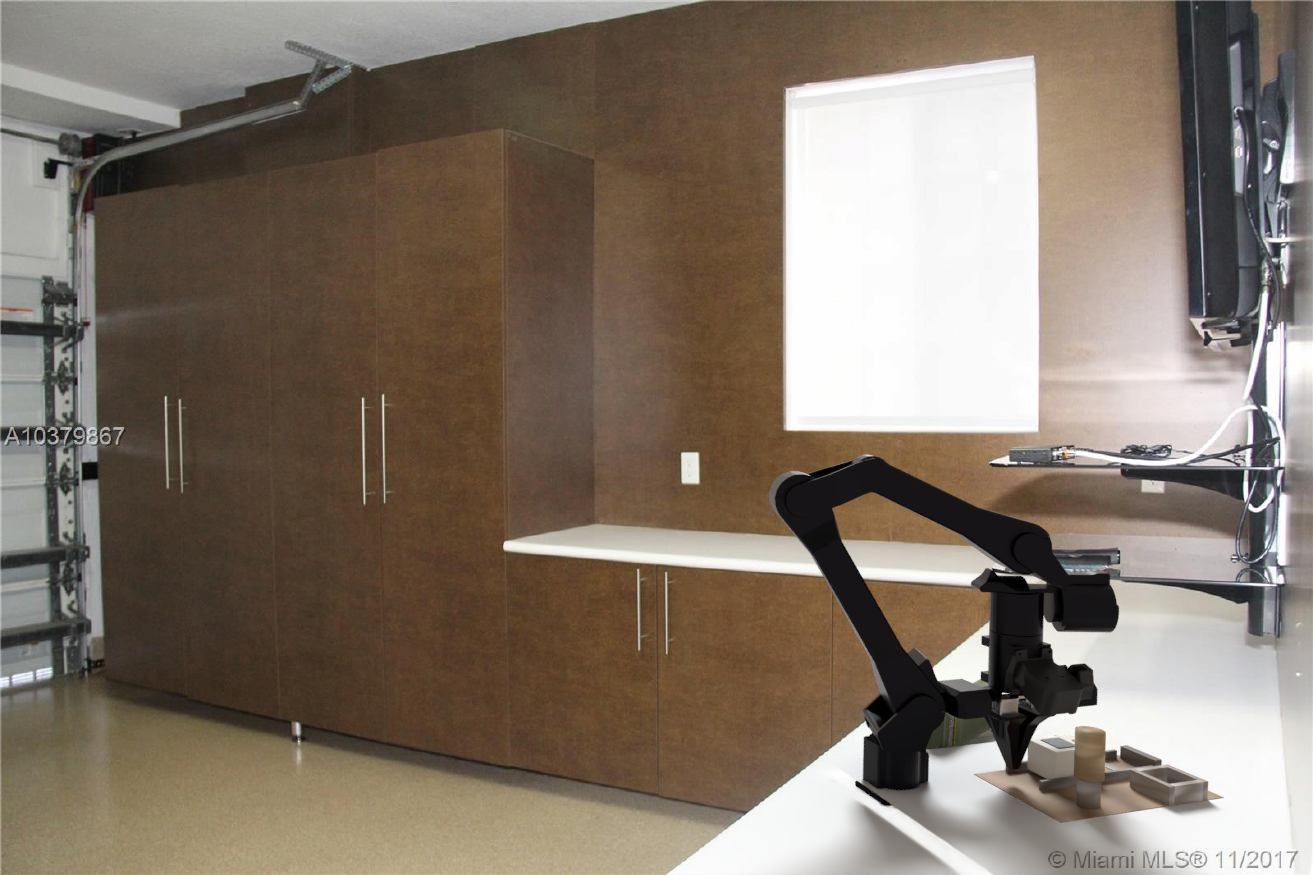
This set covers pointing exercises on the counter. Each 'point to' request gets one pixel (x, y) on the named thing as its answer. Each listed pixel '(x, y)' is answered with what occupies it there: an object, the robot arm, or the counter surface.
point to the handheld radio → (957, 729)
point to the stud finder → (1052, 756)
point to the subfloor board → (1106, 787)
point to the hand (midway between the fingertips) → (1012, 768)
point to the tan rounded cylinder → (1089, 765)
